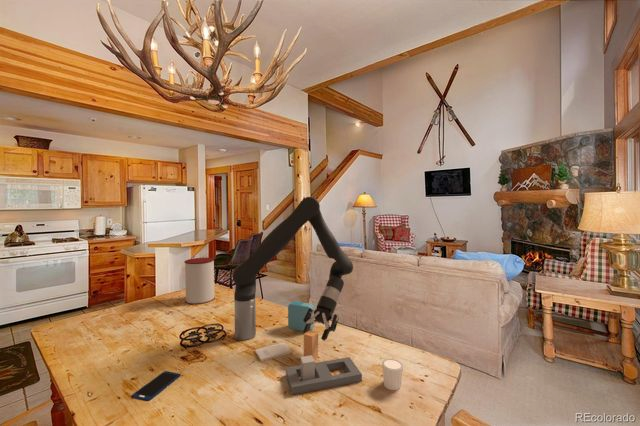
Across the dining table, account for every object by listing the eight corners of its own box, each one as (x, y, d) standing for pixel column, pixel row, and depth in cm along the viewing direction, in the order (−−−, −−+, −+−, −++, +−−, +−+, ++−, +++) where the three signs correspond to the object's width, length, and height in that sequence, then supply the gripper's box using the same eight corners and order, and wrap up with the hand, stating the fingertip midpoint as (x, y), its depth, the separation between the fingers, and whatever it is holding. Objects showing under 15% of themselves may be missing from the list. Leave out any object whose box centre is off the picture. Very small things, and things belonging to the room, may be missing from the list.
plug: (309, 354, 112) (309, 330, 112) (318, 357, 110) (318, 332, 110) (303, 359, 109) (303, 333, 109) (312, 362, 107) (312, 336, 107)
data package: (314, 328, 136) (314, 304, 135) (310, 332, 132) (310, 307, 131) (292, 324, 141) (292, 300, 140) (287, 328, 136) (287, 303, 136)
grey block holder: (291, 395, 89) (291, 371, 89) (286, 374, 99) (285, 353, 99) (361, 381, 96) (361, 359, 95) (349, 363, 106) (349, 343, 106)
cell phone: (129, 398, 88) (129, 396, 88) (165, 372, 102) (165, 370, 102) (148, 402, 86) (148, 400, 86) (182, 375, 100) (182, 373, 100)
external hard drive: (290, 354, 114) (260, 362, 108) (283, 345, 121) (254, 353, 115) (290, 350, 114) (260, 358, 108) (283, 341, 121) (254, 349, 115)
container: (178, 303, 170) (177, 262, 169) (196, 294, 187) (195, 257, 186) (205, 305, 167) (204, 263, 166) (220, 295, 184) (219, 257, 183)
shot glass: (379, 378, 97) (379, 358, 97) (398, 377, 97) (398, 357, 97) (385, 392, 90) (385, 370, 90) (406, 390, 91) (406, 369, 90)
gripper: (311, 292, 122) (295, 328, 113) (340, 298, 114) (325, 337, 105) (318, 301, 126) (303, 336, 117) (346, 307, 119) (332, 345, 109)
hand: (313, 337), depth 111 cm, fingers open, 8 cm apart
